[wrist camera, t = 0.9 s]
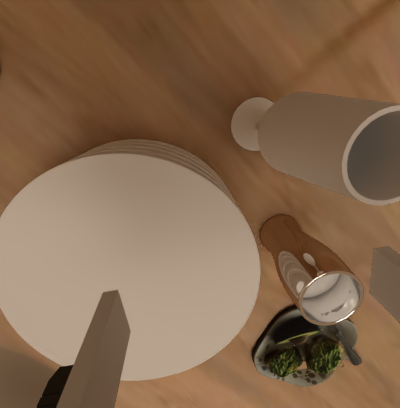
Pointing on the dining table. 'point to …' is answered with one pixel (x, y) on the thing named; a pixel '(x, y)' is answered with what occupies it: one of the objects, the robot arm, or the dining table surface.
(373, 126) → the champagne flute
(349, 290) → the beer glass
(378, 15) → the dining table surface
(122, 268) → the plate stack
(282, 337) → the salad plate
